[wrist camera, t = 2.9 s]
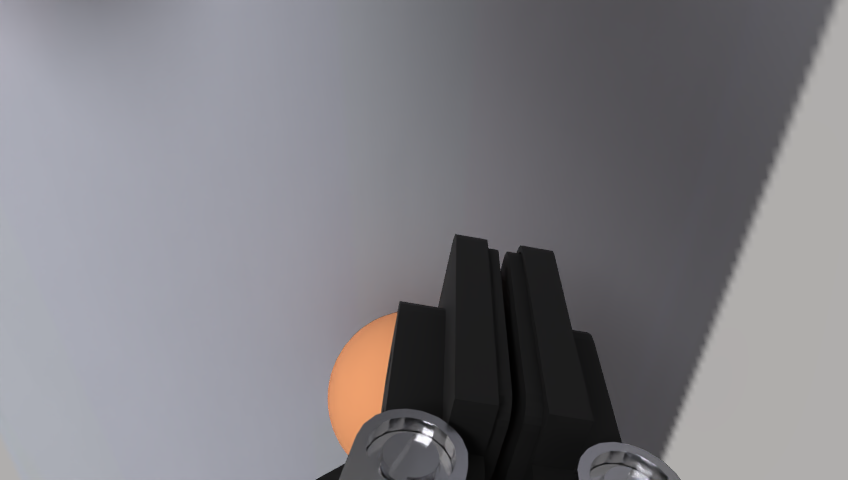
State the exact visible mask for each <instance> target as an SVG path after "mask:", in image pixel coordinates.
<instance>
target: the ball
mask: <svg viewBox="0 0 848 480" xmlns="http://www.w3.org/2000/svg"><path fill="white" fill-rule="evenodd" d="M396 317H397V312H396V313H392V314H389V315H386V316H383V317H380V318H378V319H376V320H374V321H372V322H371V323H369V324H367V325H366V326H365V327H363V328H362V329H361V330H359V331H358V332H357V333H356V334H355V335H354V336H353V337H352V338H351V339H350V340H349V342H348V343H347V344H346V345H345V346H344V348H343V350H342V351H341V353H340V355H339V356H338V358H337V360H336V362H335V365H334V367H333V370H332V373H331V377H330V382H329V388H328V409H329V416H330V420H331V424H332V427H333V430H334V432H335V435H336V437H337V439H338V441H339V443H340V445H341V446H342V447H343V449H344V450H345V452H346V453H347V454H348V455H349V452H350V450H351V447H352V445H353V442H354V440H355V437H356V435H357V433H358V432H359V430H360V429H361V427H362V425H363V424H364V423H365V422H367V421H368V420H369V419H371V418H372V417H373V416H375V415H377V414H380V413H381V409H382V402H383V394H384V388H385V381H386V374H387V368H388V362H389V356H390V350H391V345H392V339H393V334H394V328H395V323H396Z"/></svg>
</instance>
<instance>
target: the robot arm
mask: <svg viewBox="0 0 848 480" xmlns="http://www.w3.org/2000/svg"><path fill="white" fill-rule="evenodd" d="M316 480H680V478H679V477H678V475H677V474H676V473H675V472H674V471H673V470H672V469H671V468H670V467H669V466H668V465H667V464H666V463H665V462H663V461H662V460H661V459H659V458H657V457H656V456H654V455H653V454H651V453H649V452H648V451H646V450H643V449H641V448H638V447H636V446H633V445H630V444H624V443H622V442H621V438H620V434H619V431H618V427H617V424H616V420H615V416H614V413H613V409H612V405H611V402H610V398H609V395H608V391H607V387H606V384H605V380H604V376H603V373H602V369H601V366H600V362H599V358H598V355H597V351H596V347H595V344H594V341H593V338H592V336H591V335H590V334H589V333H587V332H581V331H575V330H572V327H571V323H570V319H569V315H568V310H567V306H566V302H565V298H564V293H563V289H562V285H561V281H560V277H559V272H558V268H557V264H556V260H555V256H554V253H553V251H549V250H544V249H538V248H532V247H526V246H520V247H519V248H518V251H517V253H512V252H507V253H506V254H505V257H504V260H503V264H502V267H501V271H500V262H499V252H498V250H494V249H489V248H488V242H487V240H486V239H480V238H474V237H468V236H462V235H456V234H455V236H454V239H453V243H452V247H451V252H450V256H449V261H448V265H447V270H446V274H445V279H444V283H443V288H442V292H441V297H440V301H439V306H438V308H437V307H431V306H425V305H419V304H413V303H408V302H402V301H400V303H399V307H398V312H397V317H396V323H395V328H394V334H393V339H392V345H391V350H390V356H389V362H388V368H387V374H386V381H385V388H384V394H383V402H382V409H381V413H380V414H377V415H375V416H373V417H372V418H371V419H369V420H368V421H367V422H365V423H364V424H363V425H362V427H361V429H360V430H359V432H358V433H357V435H356V437H355V440H354V442H353V445H352V447H351V450H350V452H349V455H348V458H347V460H346V463H345V464H343V465H342V466H340V467H338V468H336V469H334V470H332V471H331V472H329V473H327V474H325V475H323V476H322V477H320V478H318V479H316Z"/></svg>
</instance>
